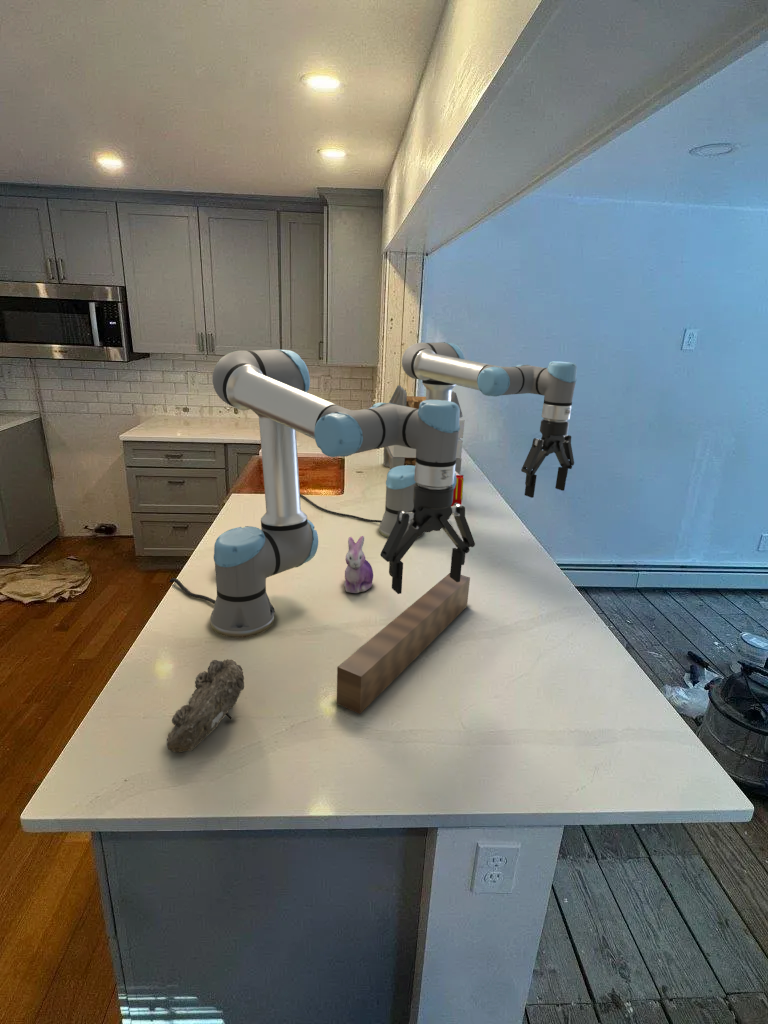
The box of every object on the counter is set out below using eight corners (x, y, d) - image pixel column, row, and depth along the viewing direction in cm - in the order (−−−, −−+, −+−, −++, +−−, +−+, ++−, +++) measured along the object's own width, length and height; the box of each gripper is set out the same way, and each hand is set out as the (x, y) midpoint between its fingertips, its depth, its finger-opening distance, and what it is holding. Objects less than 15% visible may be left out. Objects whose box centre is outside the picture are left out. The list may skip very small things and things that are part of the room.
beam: (448, 600, 156) (450, 571, 153) (467, 606, 153) (470, 577, 150) (336, 703, 113) (337, 666, 110) (359, 714, 111) (361, 676, 108)
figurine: (350, 597, 154) (351, 546, 149) (335, 581, 163) (336, 533, 158) (381, 591, 159) (383, 541, 153) (365, 576, 167) (367, 528, 162)
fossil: (192, 660, 117) (244, 628, 112) (224, 691, 120) (276, 661, 115) (142, 746, 98) (202, 712, 93) (182, 779, 101) (242, 748, 96)
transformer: (382, 463, 289) (386, 382, 275) (445, 464, 293) (451, 384, 279) (390, 482, 257) (394, 392, 243) (460, 483, 261) (468, 394, 247)
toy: (456, 466, 252) (467, 476, 223) (454, 496, 255) (465, 509, 225) (428, 465, 252) (437, 475, 222) (427, 495, 254) (435, 508, 225)
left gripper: (383, 496, 98) (378, 604, 106) (499, 483, 109) (488, 582, 116) (365, 484, 105) (362, 587, 112) (477, 473, 115) (467, 567, 123)
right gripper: (536, 425, 147) (525, 503, 154) (594, 418, 161) (582, 490, 168) (514, 420, 152) (505, 495, 160) (572, 414, 166) (561, 483, 174)
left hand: (426, 585), depth 114 cm, fingers open, 13 cm apart
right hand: (544, 492), depth 164 cm, fingers open, 13 cm apart
